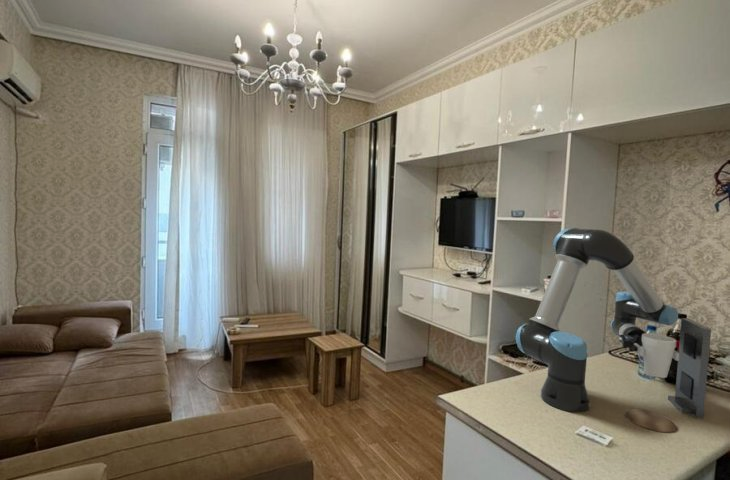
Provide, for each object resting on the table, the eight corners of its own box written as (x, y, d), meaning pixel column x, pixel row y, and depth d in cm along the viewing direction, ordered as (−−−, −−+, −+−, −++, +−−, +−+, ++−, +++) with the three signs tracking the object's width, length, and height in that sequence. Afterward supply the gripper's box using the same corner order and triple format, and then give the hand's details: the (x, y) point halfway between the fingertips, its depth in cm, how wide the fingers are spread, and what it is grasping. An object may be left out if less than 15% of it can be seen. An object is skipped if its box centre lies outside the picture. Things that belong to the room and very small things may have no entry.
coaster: (634, 427, 117) (634, 425, 117) (619, 407, 130) (619, 406, 130) (684, 435, 113) (684, 434, 113) (664, 414, 126) (664, 412, 126)
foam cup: (637, 366, 138) (640, 331, 137) (669, 372, 133) (672, 336, 132) (641, 375, 130) (644, 338, 129) (675, 382, 125) (678, 343, 124)
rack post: (685, 415, 125) (692, 327, 123) (665, 396, 139) (671, 317, 137) (703, 418, 124) (711, 329, 122) (681, 399, 137) (688, 318, 135)
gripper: (665, 348, 148) (697, 370, 126) (601, 341, 154) (622, 361, 132) (666, 329, 147) (699, 348, 126) (602, 323, 153) (623, 340, 132)
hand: (660, 354), depth 129 cm, fingers closed on foam cup, 9 cm apart
